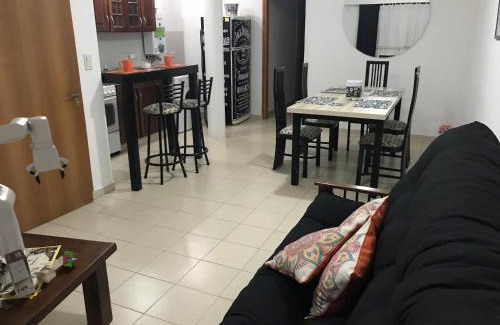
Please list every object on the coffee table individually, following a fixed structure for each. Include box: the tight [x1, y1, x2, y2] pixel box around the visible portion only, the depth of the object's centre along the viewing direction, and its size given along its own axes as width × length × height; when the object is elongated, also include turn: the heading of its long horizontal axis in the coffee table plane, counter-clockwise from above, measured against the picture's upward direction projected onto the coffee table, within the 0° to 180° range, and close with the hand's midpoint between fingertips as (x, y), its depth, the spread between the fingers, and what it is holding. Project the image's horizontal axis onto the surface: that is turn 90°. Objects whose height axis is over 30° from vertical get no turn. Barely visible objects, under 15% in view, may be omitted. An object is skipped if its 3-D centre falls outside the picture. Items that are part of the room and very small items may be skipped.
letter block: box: [35, 264, 57, 283], centre depth 167 cm, size 6×5×5 cm
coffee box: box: [4, 249, 36, 299], centre depth 159 cm, size 9×6×16 cm
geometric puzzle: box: [58, 250, 77, 268], centre depth 176 cm, size 7×7×8 cm
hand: (51, 180), depth 180 cm, fingers open, 9 cm apart
